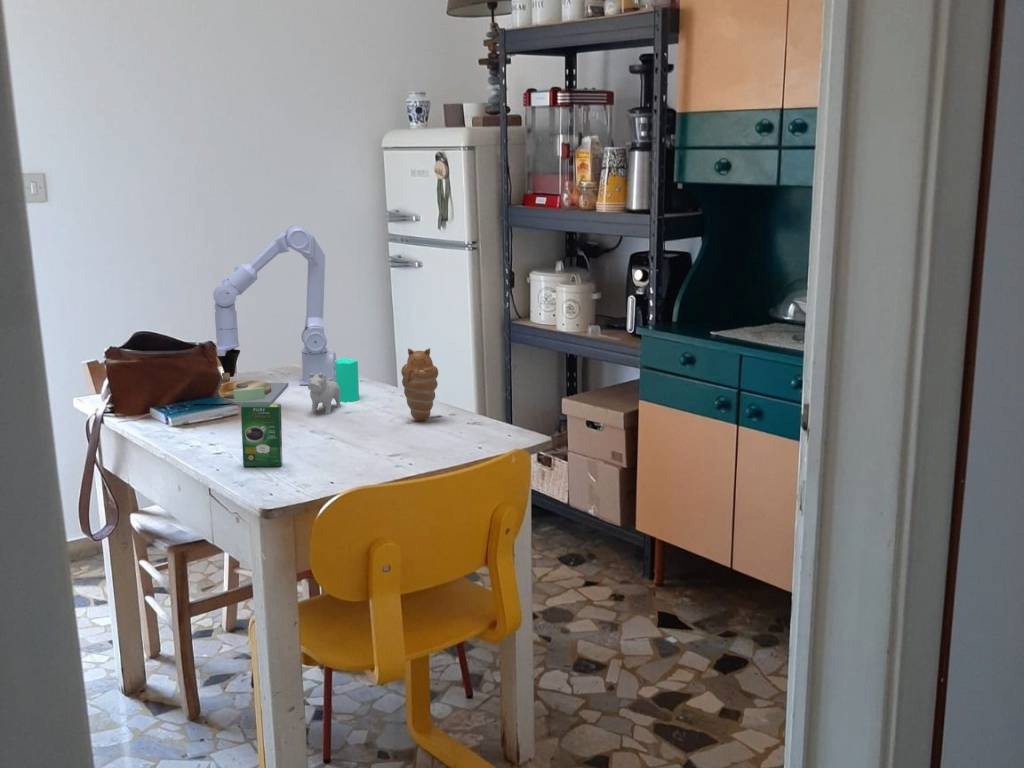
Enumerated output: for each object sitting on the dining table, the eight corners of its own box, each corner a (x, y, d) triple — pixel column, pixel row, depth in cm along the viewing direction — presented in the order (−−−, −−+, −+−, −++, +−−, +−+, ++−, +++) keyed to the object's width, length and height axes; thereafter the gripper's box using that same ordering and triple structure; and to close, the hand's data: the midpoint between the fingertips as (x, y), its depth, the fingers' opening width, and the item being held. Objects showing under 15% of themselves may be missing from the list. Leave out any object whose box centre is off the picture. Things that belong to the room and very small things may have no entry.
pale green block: (263, 397, 258) (263, 387, 258) (265, 398, 257) (264, 388, 256) (233, 400, 255) (232, 390, 255) (234, 401, 254) (234, 391, 253)
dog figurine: (303, 417, 242) (301, 375, 240) (323, 404, 255) (321, 364, 252) (324, 418, 241) (322, 376, 239) (343, 405, 254) (341, 365, 251)
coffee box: (284, 463, 206) (281, 402, 203) (282, 467, 203) (279, 405, 200) (245, 463, 205) (242, 402, 203) (242, 467, 203) (239, 406, 200)
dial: (276, 384, 272) (275, 369, 271) (263, 398, 256) (262, 382, 255) (222, 384, 271) (221, 369, 270) (205, 398, 256) (204, 382, 255)
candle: (333, 398, 261) (332, 353, 259) (355, 395, 264) (354, 351, 261) (339, 403, 256) (338, 357, 253) (362, 400, 259) (360, 356, 256)
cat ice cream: (401, 425, 235) (399, 351, 231) (404, 416, 242) (402, 345, 238) (438, 425, 235) (437, 351, 231) (439, 416, 243) (438, 344, 239)
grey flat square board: (288, 385, 275) (288, 381, 275) (270, 405, 254) (270, 400, 254) (216, 385, 275) (216, 381, 275) (193, 405, 254) (192, 401, 253)
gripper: (219, 323, 276) (222, 371, 279) (204, 332, 262) (207, 382, 265) (244, 323, 276) (247, 370, 279) (230, 332, 262) (233, 382, 265)
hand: (229, 376), depth 272 cm, fingers closed
